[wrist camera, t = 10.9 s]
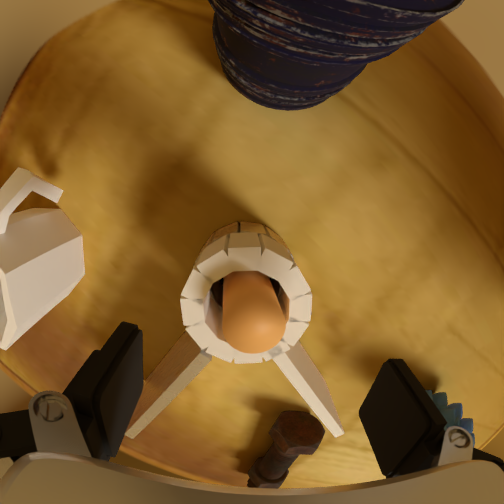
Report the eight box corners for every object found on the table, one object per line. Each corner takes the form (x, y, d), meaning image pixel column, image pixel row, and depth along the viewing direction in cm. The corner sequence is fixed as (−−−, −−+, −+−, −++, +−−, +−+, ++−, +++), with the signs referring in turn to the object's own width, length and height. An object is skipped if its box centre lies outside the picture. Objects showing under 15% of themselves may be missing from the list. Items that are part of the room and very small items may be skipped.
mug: (77, 309, 23) (19, 369, 13) (14, 269, 21) (-50, 308, 12) (111, 185, 20) (32, 199, 10) (39, 151, 19) (-43, 153, 9)
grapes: (366, 415, 28) (400, 494, 16) (398, 372, 26) (450, 451, 14) (426, 417, 29) (463, 476, 17) (455, 380, 27) (502, 437, 16)
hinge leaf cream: (181, 254, 21) (155, 291, 14) (260, 204, 20) (270, 220, 14) (289, 397, 26) (301, 452, 19) (352, 365, 25) (379, 415, 18)
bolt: (251, 464, 32) (289, 401, 28) (282, 480, 30) (330, 420, 26) (231, 491, 27) (266, 434, 23) (264, 508, 25) (314, 456, 21)
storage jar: (243, 129, 19) (248, 33, 5) (201, 23, 17) (161, -115, 2) (365, 96, 19) (507, 32, 4) (318, -1, 16) (383, -118, 2)
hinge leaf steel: (308, 259, 22) (336, 299, 15) (177, 400, 26) (165, 455, 19) (236, 202, 21) (234, 218, 14) (118, 363, 24) (91, 414, 17)
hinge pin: (246, 240, 21) (259, 286, 13) (271, 269, 22) (297, 329, 14) (215, 265, 22) (209, 325, 13) (241, 293, 22) (250, 363, 14)
